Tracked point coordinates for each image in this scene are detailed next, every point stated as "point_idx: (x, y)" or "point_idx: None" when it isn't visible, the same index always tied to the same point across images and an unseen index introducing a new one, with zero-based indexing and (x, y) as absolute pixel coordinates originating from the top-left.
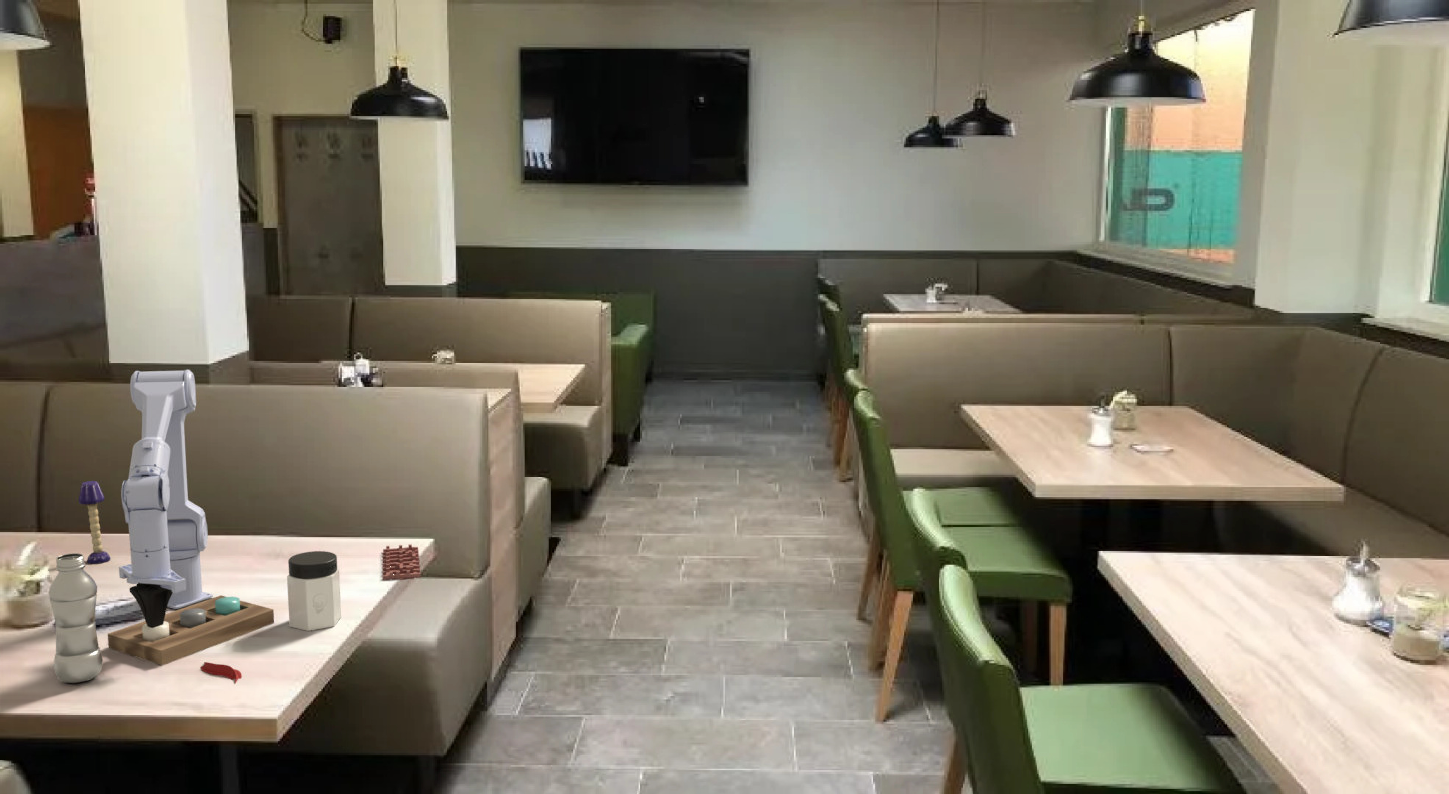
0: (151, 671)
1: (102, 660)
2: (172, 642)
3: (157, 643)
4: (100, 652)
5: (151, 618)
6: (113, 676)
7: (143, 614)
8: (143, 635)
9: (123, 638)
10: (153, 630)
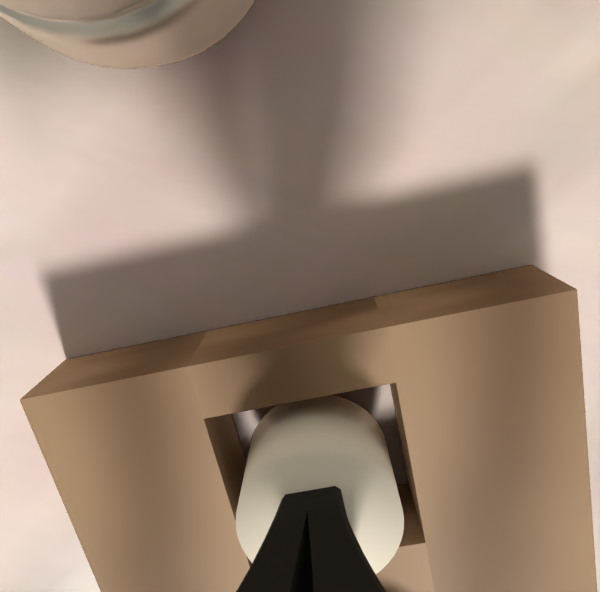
0: (20, 290)
1: (59, 52)
2: (116, 490)
3: (155, 430)
4: (18, 26)
5: (259, 549)
6: (76, 114)
7: (347, 542)
8: (320, 424)
9: (401, 327)
10: (246, 483)
